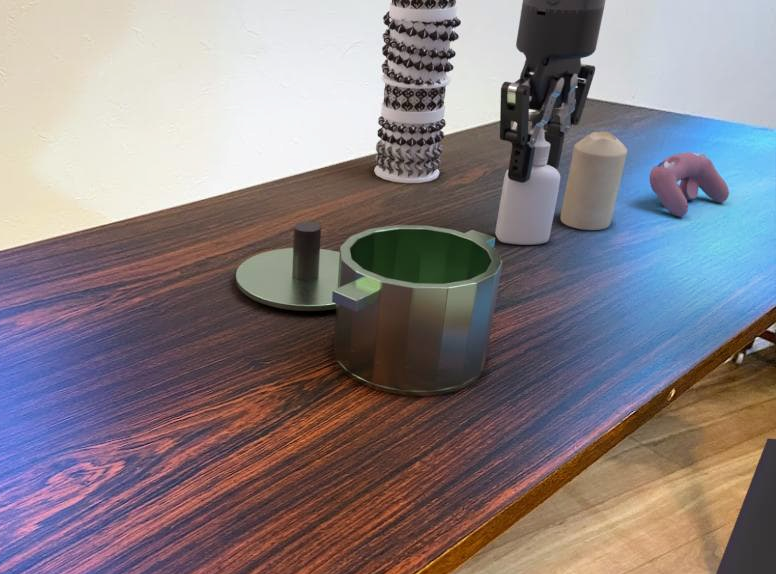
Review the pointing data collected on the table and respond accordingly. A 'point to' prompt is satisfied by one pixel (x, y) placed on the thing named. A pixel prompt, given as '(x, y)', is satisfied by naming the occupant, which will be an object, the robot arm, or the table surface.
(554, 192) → the eye dropper bottle
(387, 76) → the bracelet display stand
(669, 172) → the video game controller
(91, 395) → the table surface
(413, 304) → the pot
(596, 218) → the candle
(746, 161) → the table surface
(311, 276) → the lid
